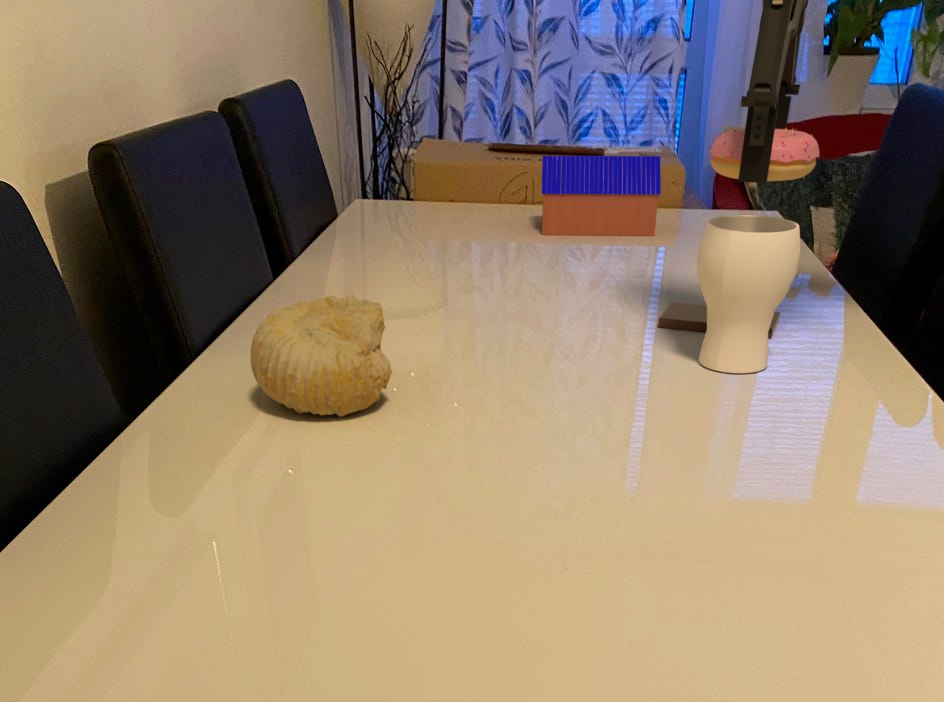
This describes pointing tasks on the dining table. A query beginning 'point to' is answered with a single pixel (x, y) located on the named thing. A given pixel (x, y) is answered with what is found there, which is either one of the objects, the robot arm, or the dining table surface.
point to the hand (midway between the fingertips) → (760, 173)
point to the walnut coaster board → (695, 318)
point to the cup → (744, 287)
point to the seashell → (322, 355)
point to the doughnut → (787, 157)
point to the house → (600, 195)
